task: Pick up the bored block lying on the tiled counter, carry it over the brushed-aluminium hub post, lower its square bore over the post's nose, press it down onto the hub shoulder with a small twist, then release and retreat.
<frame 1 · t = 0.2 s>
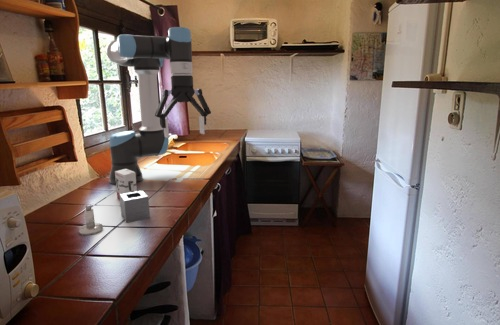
hand: (185, 135, 123), 28 cm above the counter, fingers open, 13 cm apart
hub: (91, 230, 110), on the counter
ink box: (127, 199, 139), on the counter
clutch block: (135, 216, 121), on the counter
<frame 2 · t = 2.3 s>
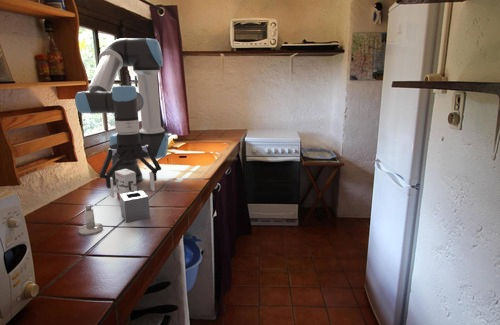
hand: (133, 193, 119), 9 cm above the counter, fingers open, 13 cm apart
nothing on the counter moved.
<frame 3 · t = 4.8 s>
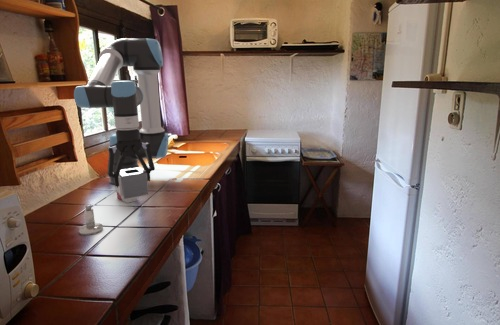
hand: (133, 192, 120), 9 cm above the counter, fingers closed on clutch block, 8 cm apart
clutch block: (133, 193, 120), point 9 cm above the counter, touching gripper
everything else where it was.
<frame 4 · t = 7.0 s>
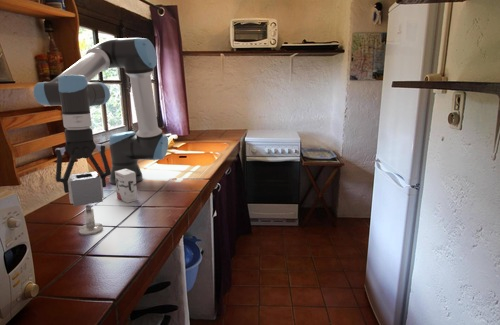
hand: (87, 199, 107), 11 cm above the counter, fingers closed on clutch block, 8 cm apart
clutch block: (87, 200, 108), point 10 cm above the counter, touching gripper
everything else where it was.
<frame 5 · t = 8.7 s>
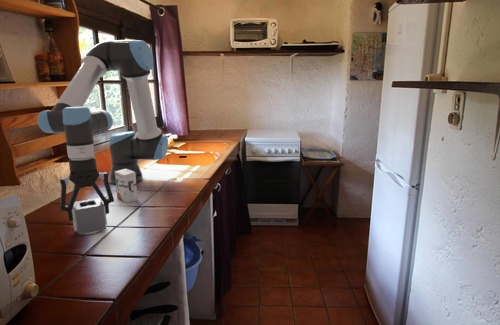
hand: (90, 226, 110), 1 cm above the counter, fingers closed on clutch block, 8 cm apart
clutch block: (90, 226, 110), point 1 cm above the counter, touching gripper
everything else where it was.
when the fingers open (1 cm above the counter, at t = 9.7 s): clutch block stays where it is, resting on hub.
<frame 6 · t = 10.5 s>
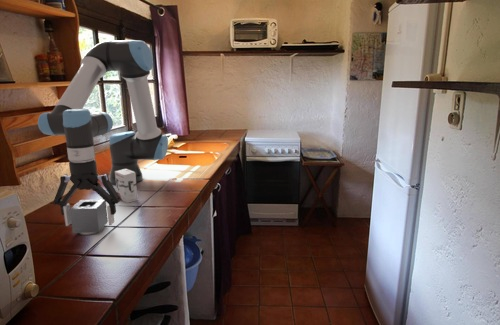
hand: (90, 224, 110), 2 cm above the counter, fingers open, 13 cm apart
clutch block: (91, 227, 110), point 1 cm above the counter, touching hub
everything else where it was.
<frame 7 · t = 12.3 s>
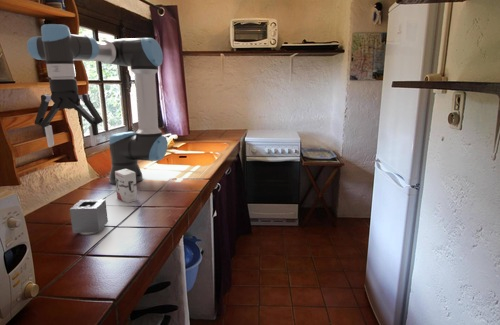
hand: (72, 145, 110), 27 cm above the counter, fingers open, 13 cm apart
nothing on the counter moved.
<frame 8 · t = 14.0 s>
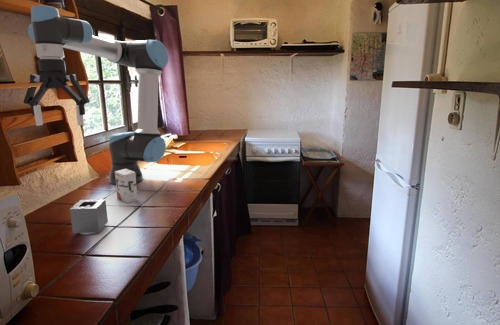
hand: (60, 125, 114), 33 cm above the counter, fingers open, 13 cm apart
nothing on the counter moved.
at the end: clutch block 0.2 cm off-centre on the hub, point 1.0 cm above the hub's base; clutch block tilted 0°; the gripper is holding nothing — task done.
